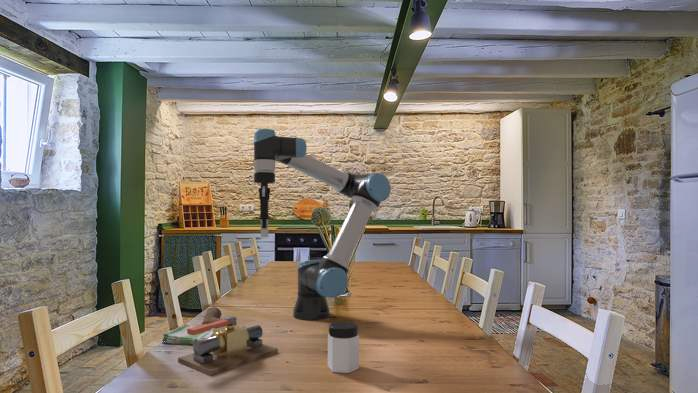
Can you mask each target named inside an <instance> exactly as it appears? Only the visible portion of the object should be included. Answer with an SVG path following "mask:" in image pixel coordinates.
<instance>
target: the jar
mask: <svg viewBox="0 0 698 393" xmlns="http://www.w3.org/2000/svg"><path fill="white" fill-rule="evenodd" d="M358 328H359V325H358V323H355V322H351V321H335V322H334V321H333V322H331V323H330V324H329V325H328V333H327V367H328V369H329V370H330V371H331V372H332V373H339V374H340V373H341V374H351V373H353V372H355V371H358V370H359V369H360V335H359V332H358V331H359V329H358Z"/></svg>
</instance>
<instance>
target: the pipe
mask: <svg viewBox="0 0 698 393" xmlns="http://www.w3.org/2000/svg"><path fill="white" fill-rule="evenodd" d="M221 316H222V311H221V310H220V308H218V307H216V306H212V307H209V308H208V309H207V310H206V312H205V315H204V318H203V321H202V323H201V325H203V324H209V323H213V322H216V321H220V320H223V319H224V318H221ZM235 325H236V326H238V325H237V322H236V324H235ZM224 326H226V325H223V326H220V327H224ZM220 327H217V328H220Z"/></svg>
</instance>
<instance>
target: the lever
mask: <svg viewBox="0 0 698 393" xmlns="http://www.w3.org/2000/svg"><path fill="white" fill-rule="evenodd" d="M222 319H223V320H220V321H216V322H213V323H209V324H203V325H202V324H200V325H196V326H193V327H192V328H188V329H187V334H189V335H197V334H200V333H203V332H207V331H210V330H211V329H213V328H217V327H220V326H223V325H232V324H236V323H237V316H233V315H231V316H230V315H228V316H225V317H223V318H222Z"/></svg>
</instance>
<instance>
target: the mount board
mask: <svg viewBox="0 0 698 393" xmlns="http://www.w3.org/2000/svg"><path fill="white" fill-rule="evenodd" d="M278 351H279V350H278V348H277V347H274V346H270V345H267V344H264V343H262V346H261V347H258V348H252V347H249V346H247V352H246V353H243V354H240V355H237V356H234V357H231V358H228V359H226V358H224V357H221V356H218V355H215V354H213V352H210V354H213V362H210V363H207V364H204V365H203V364H201V363H198V362H196V361H194V352H193V353H190V354H187V355H183V356H180V357H177V362H178V363H180V364H182V365H185V366H187V367H189V368H192V369H194V370H197V371H199V372H201V373H203V374H206V375H209V376H213V375H216V374H219V373H222V372H225V371H227V370H231V369H233V368H236V367H240V366H242V365H243V366H244V365H245V364H247V363H250V362H254V361H257V360H260V359H264V358H265V357H268V356H272V355H274V354H278Z"/></svg>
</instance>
